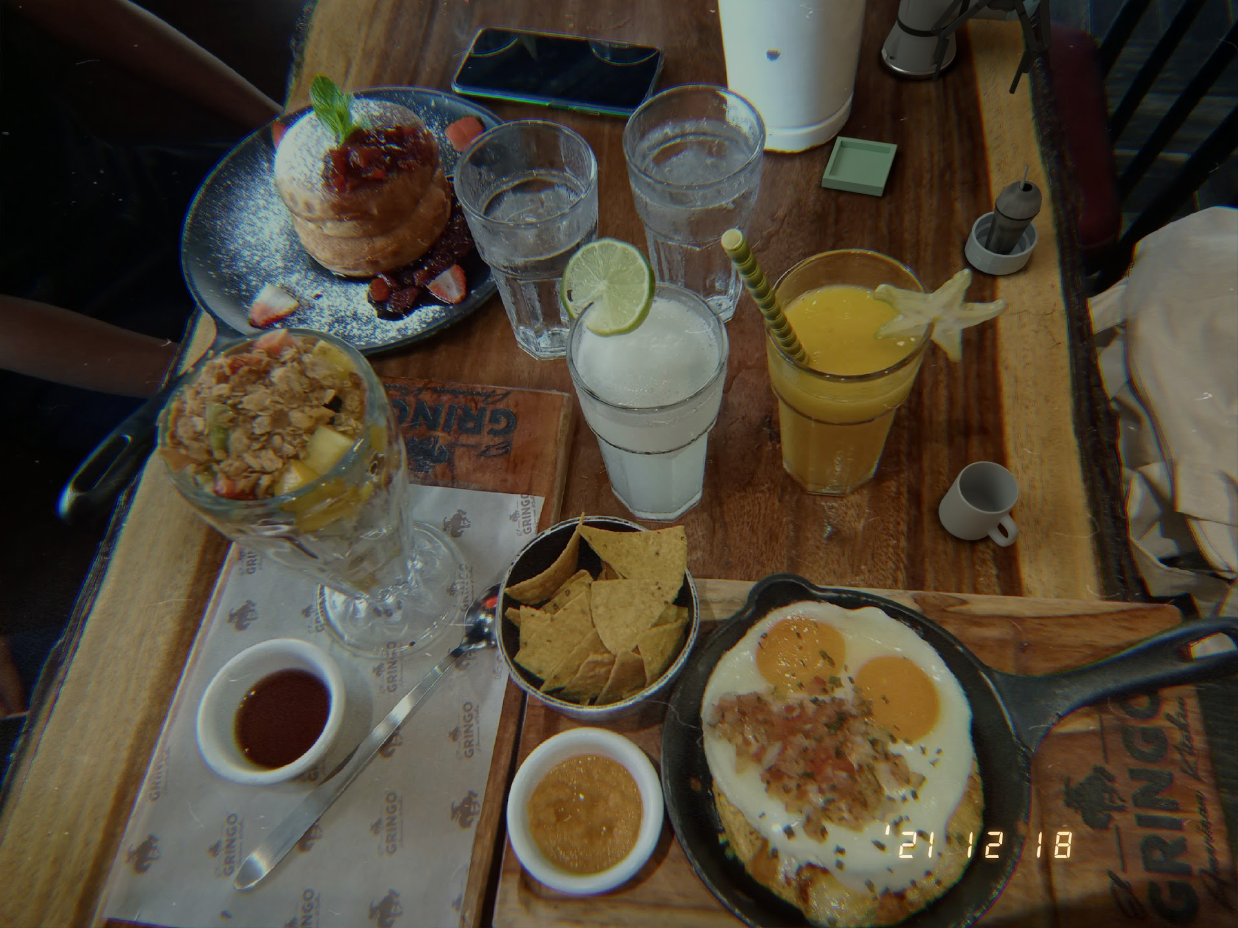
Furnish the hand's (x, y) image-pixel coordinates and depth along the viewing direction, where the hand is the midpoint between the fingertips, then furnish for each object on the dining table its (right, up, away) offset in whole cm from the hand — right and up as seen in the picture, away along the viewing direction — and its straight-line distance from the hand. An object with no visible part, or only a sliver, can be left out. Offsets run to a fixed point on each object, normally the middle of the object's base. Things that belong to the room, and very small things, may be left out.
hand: (972, 86), depth 134 cm
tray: (-16, -9, +16) cm, 24 cm away
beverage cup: (+5, -30, +2) cm, 30 cm away
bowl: (+5, -30, +2) cm, 30 cm away
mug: (-9, -79, -20) cm, 82 cm away
